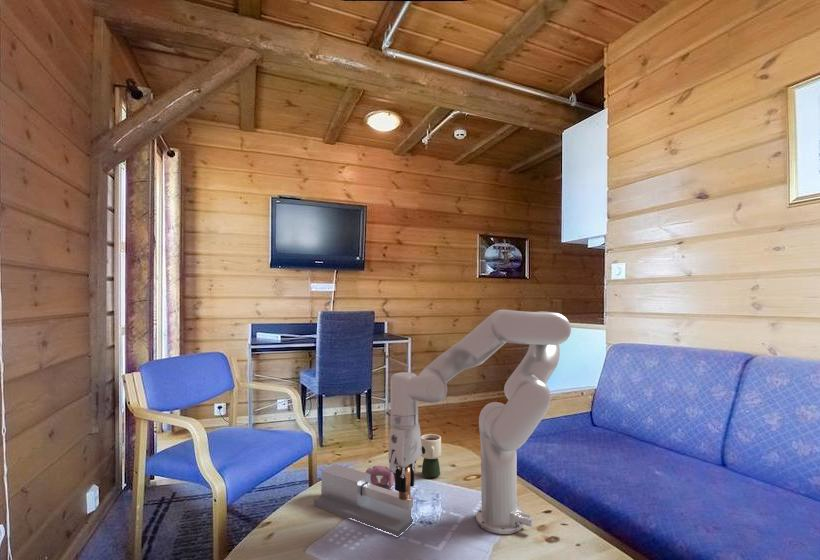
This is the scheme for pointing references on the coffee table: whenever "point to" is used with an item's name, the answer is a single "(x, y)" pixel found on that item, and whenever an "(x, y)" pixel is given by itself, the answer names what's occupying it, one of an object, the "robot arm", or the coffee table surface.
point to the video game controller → (381, 472)
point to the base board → (371, 514)
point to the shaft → (390, 493)
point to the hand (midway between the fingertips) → (404, 487)
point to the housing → (344, 485)
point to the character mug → (431, 454)
